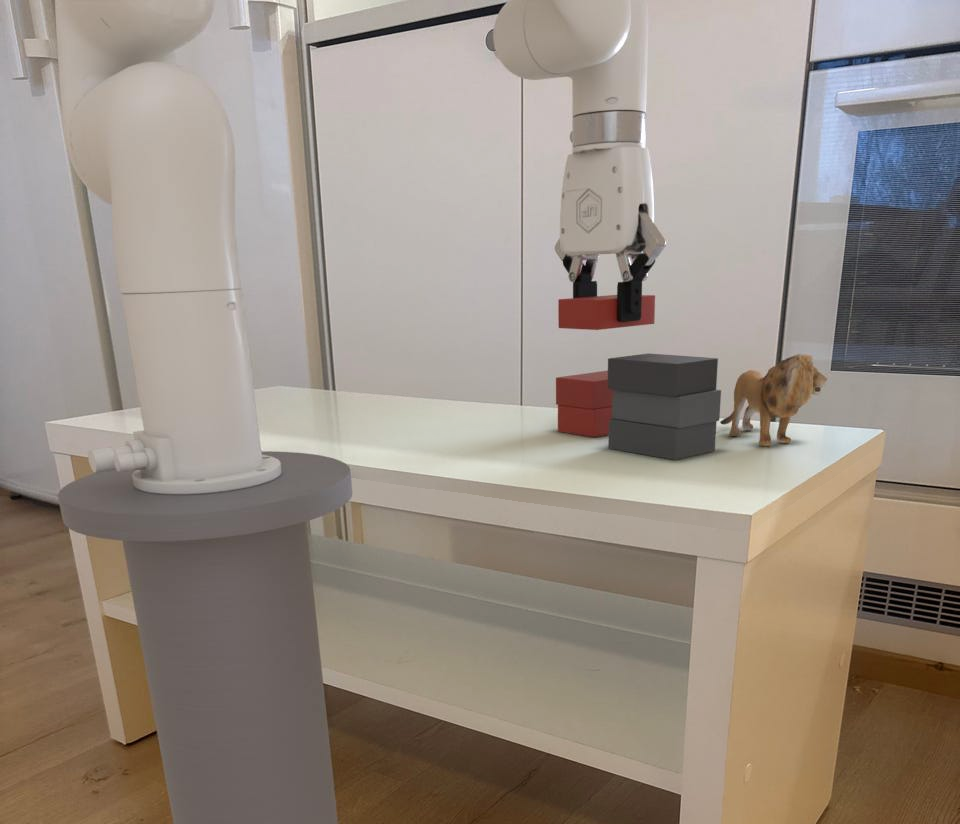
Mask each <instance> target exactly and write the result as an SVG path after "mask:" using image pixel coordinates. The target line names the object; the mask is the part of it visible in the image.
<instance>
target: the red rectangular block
mask: <svg viewBox="0 0 960 824" xmlns="http://www.w3.org/2000/svg"><path fill="white" fill-rule="evenodd" d="M557 301H558V305H557V307H558V309H557V312H558V313H557V314H558V317H557V318H558V319H557V320H558V329H568V330H589V331H600V330H609V329H611V330H612V329H619V328H628V327H629V328H630V327H637V326H647V325H655V320H656V319H655V318H656V317H655V316H656V295H655V294H642V308H641V319H640V320H638V321H628V322H619V321H618V320H617V294H609V295H597V296H595V297H582V298H573V297H572V298H559V299H558V300H557Z"/></svg>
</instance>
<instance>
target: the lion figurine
mask: <svg viewBox="0 0 960 824" xmlns="http://www.w3.org/2000/svg"><path fill="white" fill-rule="evenodd" d="M827 380H828V377H827V376H825V375H824V374H822V373H821V372H820V371H819V370H818V368H817V367H815V366H814V362H813V356H812V355H808V354H805V353H804V354H802V353H797V354H795V355H793V356H789V357H787V358H785V359H782V360H781V361H779V363H777V364H775V365H774V366H772V367H769V369H768V371H767V373H766V374H765V376H764V374H763V373H762V372H761V371H758V370H753V369H748V370H747V371H745V372H743V373H742V374H740V375H739V376H738V377H737V380H736V383H735V385H734V389H733V411H732V413H731V414H730V415H728V416H727V417H725V418H723V419H722V420H721V421H720V422H719V424H721V425H722V426H723V425H728V424H731V427H730V430H729V436H731V437H735V436H736V437H737V436H740V435H741V430H740V428H739V424H740V420H741V419H740V418H741V417H740V416H741V412H742V411H743V409H744V405H745V403H746V401H747V404H748V405H747V407H746V408H745V410H744V413H743V418H742V423H741V427H742V429H743V430H745V431H751V430H754V424H752V423H751V419H752V417H753V416H754V414H755V413H757V414H759V427H760V429H759V441H758V445H759V446H761V447H770V446H772V437H771V434H770V429H771V421H772V418H777V419H779V420H778V426H777V432H776V441H777V442H778V443H780V444H789V443H791V442H792V438H791V437H790V436H787V435H786V433H787V429H788V427H789V424H790V420H791V417H793V416H795V415H797V414H798V411H799V409H800V408H801V407H802V406H804V405H806V404H807V403H809V401H810V400H811V398H812V395H813V396H819V395H820V394H821V389H822V388H824V387H825V385H826V382H827Z"/></svg>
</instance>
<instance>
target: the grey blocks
mask: <svg viewBox="0 0 960 824" xmlns="http://www.w3.org/2000/svg"><path fill="white" fill-rule="evenodd" d="M718 364H719V358H717V357H705V356H703V357H702V356H690V355H676V354H675V355H673V354H663V353H662V354H661V353H642V354H634V355H625V356H618V357H617V356H616V357H609V358H607V371H608V389H611V390H612V419H609V435H608V443H607V444H608V445H607V446H608V449H610V450H616V451H621V452H627V453H632V454H638V455H644V456H650V457H654V458H655V457H656V458H662V459H667V460H673V461H677V460H681V459H687V458H690V457H695V456H699V455H705V454H709V453H714V452H715V451H716V438H717V437H716V436H717V422H719V421H720V417H721V401H722V400H721V399H722V390H721V389H717V383H718V382H717V381H718V367H719V366H718Z"/></svg>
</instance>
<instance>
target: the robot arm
mask: <svg viewBox="0 0 960 824" xmlns="http://www.w3.org/2000/svg"><path fill="white" fill-rule="evenodd" d="M215 2H216V0H54V12H55V13H54V14H55V31H56V34H55V35H56V49H57V63H58V64H57V65H58V78H59V79H58V80H59V94H60V108H61V109H60V110H61V119H62V121H61V122H62V130H63V138H64V143H65V147H66V152H67V155H68V158H69V160H70V163H71V166H72V167H73V170H74V171H75V173H76V175H77V177H78V178H79V180H80V181H81V183H83V184H84V186H85V187H86V188H87V189H88V190H89V191H90V193H92V194H93V195H95V196H96V197H97V198H98V199H100V200H101V201H103V202H104V203H106V204H108V205H110V206H111V224H112V225H111V226H112V241H113V251H114V259H115V268H116V273H117V279H118V286H119V292H120V294H121V299H122V306H123V312H124V318H125V323H126V324H125V325H126V329H127V335H128V340H129V341H128V343H129V347H130V353H131V359H132V365H133V372H134V377H135V379H134V380H135V384H136V390H137V397H138V402H139V408H140V415H141V421H142V426H143V430H136V431H133V432H132V434H133V435H132V436H133V440H126V441H125V442H124V445H122V446H115V447H114V446H113V447H112V446H107V447H101V448H92V449H88V451H87V459H88V465H89V468H90V469H91V471H92V472H93V474H94V473H99V472H105V471H112V470H117V471H118V472H121V471H128V470H133V471H134V472H133V474H132V478H133V484H134V487H136V488H137V489H138V490H141V491H143V492H148V493H153V494H164V495H195V494H209V493H219V492H227V491H234V490H239V489H245V488H250V487H254V486H258V485H261V484H264V483H268V482H270V481H272V480H274V479H276V478H278V477H279V476H280V474H281V473H282V472H281V462H280V461H279V460H278V459H276V458H274V457H271V456H267V455H262V452H261V451H262V445H261V437H260V428H259V419H258V411H257V404H256V402H257V401H256V393H255V388H254V377H253V370H252V362H251V361H252V360H251V353H250V345H249V336H248V330H247V329H248V327H247V322H246V311H245V304H244V303H245V301H244V294H243V288H242V281H241V273H240V272H241V271H240V264H239V255H238V245H237V232H236V231H237V230H236V176H237V175H236V170H237V169H236V168H237V167H236V165H237V163H236V148H235V140H234V139H235V138H234V133H233V130H232V126H231V123H230V120H229V116H228V114H227V112H226V110H225V108H224V106H223V104H222V102H221V101H220V99H219V98H218V96H217V94H216V93H215V92H214V90H213V89H212V88H211V87H210V86H209V85H208V84H207V83H206V82H205V81H204V80H203V79H202V78H201V77H200V76H198V75H197V74H196V73H194V72H193V71H191V70H189V69H188V68H185V67H183V66H181V65H179V64H177V50H178V49H180V48H182V47H184V46H185V45H187V44H188V43H190V42H192V41H193V40H194V39H195V38H196V37H197V36H199V35H200V34H202V32H203V31H204V30H205V29H206V27H207V26H208V24H209V23H210V21H211V18H212V16H213V13H214V9H215V4H216V3H215ZM649 11H650V10H649V6H648V2H647V0H508V1H507V2H506V3H505V4H504V5H503V6H502V7H501V8H500V10H499V12H498V14H497V16H496V19H495V20H494V25H493V30H492V31H493V33H492V39H493V47H494V50H495V54H496V55H497V57H498V60H499V61H500V63H501V64H502V65H503V67H504V68H505V69H506V70H508V71H509V72H510V73H511V74H512V75H514V76H516V77H518V78H521V79H524V80H530V81H540V80H549V79H557V78H570V79H571V80H572V85H571V87H572V94H571V95H572V123H571V124H572V130H571V131H570V133H569V140H570V142H571V144H572V145H571V146H572V150H571V151H572V153H571V154H570V153H569V154H568V155H567V157H566V162H565V167H564V172H563V180H562V188H561V199H560V215H559V218H560V219H559V238H558V240H557V242H556V243H555V246H554V252H555V253H556V255H557V256H558V257H559V259H560V261H561V262H562V265H563V267H564V269H565V271H566V272H567V273H568V281H569V282H570V283H572V298H582V297H595V296H598V282H597V280H593V279H594V275H595V272H596V269H597V264H598V261H599V259H600V258H599V257H600V255H613V254H615V257H616V261H617V265H618V268H619V273H620V277H621V279H622V281H617V286H616V295H617V320H618V321H619V322H628V321H638V320H640V319H641V308H642V295H643V282H644V281H646V280H647V279H648V275H649V271H650V270H651V269H652V268H653V266H654V265H655V263H656V259H658V257H659V256H660V255H661V254H662V252H663V251H664V249H665V248H666V246H667V240H666V239H665V238H664V236H663V234H662V233H661V232H660V230H659V229H658V227H657V226H656V224H655V201H654V196H655V195H654V182H653V181H654V180H653V171H652V162H651V155H650V151H649V150H650V149H649V148H648V147H646V144H647V143H646V142H647V141H646V140H647V139H646V138H647V101H648V64H649V63H648V62H649V61H648V59H649V55H648V54H649V26H650V24H649V23H650V21H649V20H650V14H649V13H650V12H649ZM584 262H585V263H584ZM631 262H632V263H631ZM135 470H136V471H135Z"/></svg>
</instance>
